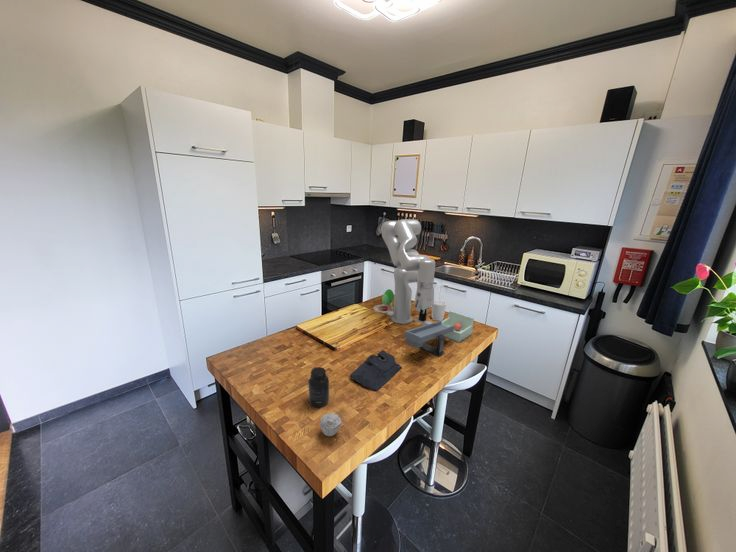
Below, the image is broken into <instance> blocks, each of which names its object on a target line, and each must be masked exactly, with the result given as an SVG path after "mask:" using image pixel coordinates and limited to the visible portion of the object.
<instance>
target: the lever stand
mask: <svg viewBox="0 0 736 552" xmlns="http://www.w3.org/2000/svg"><path fill="white" fill-rule="evenodd" d="M436 339H437V341H436V347H435V346H434V345H430V344H428V343H426V342H424V343H423V346H422V347H420V348H419V349H420V350H422V351H424V352H426V353H428V354H431V355H432V356H435V357H438V358H439V357H441V356H443V355H444V354H445V351H444V343H445V337H444V335H440V336H438V337H437V338H436Z"/></svg>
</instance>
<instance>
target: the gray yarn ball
mask: <svg viewBox="0 0 736 552" xmlns="http://www.w3.org/2000/svg"><path fill="white" fill-rule="evenodd" d="M341 424H342V419H341V418H340V416H339V414H338V413H337V414H336V413H326V414H324V415H322V417H321V418H320V422H319V427H320V429H321V431H322V433H323V434H324V435H325V436H327V437H333V436H335V434H337V433H338V430H339V429H340V427H341Z"/></svg>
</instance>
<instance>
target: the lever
mask: <svg viewBox="0 0 736 552" xmlns="http://www.w3.org/2000/svg"><path fill="white" fill-rule="evenodd" d="M414 321H415V322H417V323H420V324H422V325H421V326H418V327H416V328H415V327H414V328H411V329H408V330H405V331H404V336H403V338H404V339H405V344H406V345H409V346H410V347H412V348H416V349H420V347H422V346H423V343H426V342H428V341H431V340H434V339H437V338H438V336H440V335H445V334H448V333H450V332H453V331H454V327H455V326H454V325H452V326H450V327H446V326H444V325H441V323H442V321H443V320H442V321H435V322H432V321H431V320H427V319H426V321H421V320H419V317H417V318H414Z"/></svg>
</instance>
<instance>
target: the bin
mask: <svg viewBox="0 0 736 552" xmlns="http://www.w3.org/2000/svg"><path fill="white" fill-rule="evenodd" d="M474 322H475V318H474V317H471V316H468V315H465V314H462V313H459V312H456V311H452V310H449V312H448V317H447V318H445V319H443V320H442V323H441V325H444V326H446V327H450V326H452V325H454V324H455V323H459V324H461V329H460V330H458V331H457V330H455V329H454V331H453V332H450V333H448V334H445V335H444V339H448V340H451V341H453V342H455V343H457V344H458V343H459V344H460V343H462V341H464V340H466V339H467V338H468V337H470V336H472V334H473V329H474V328H473V327H474Z"/></svg>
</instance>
